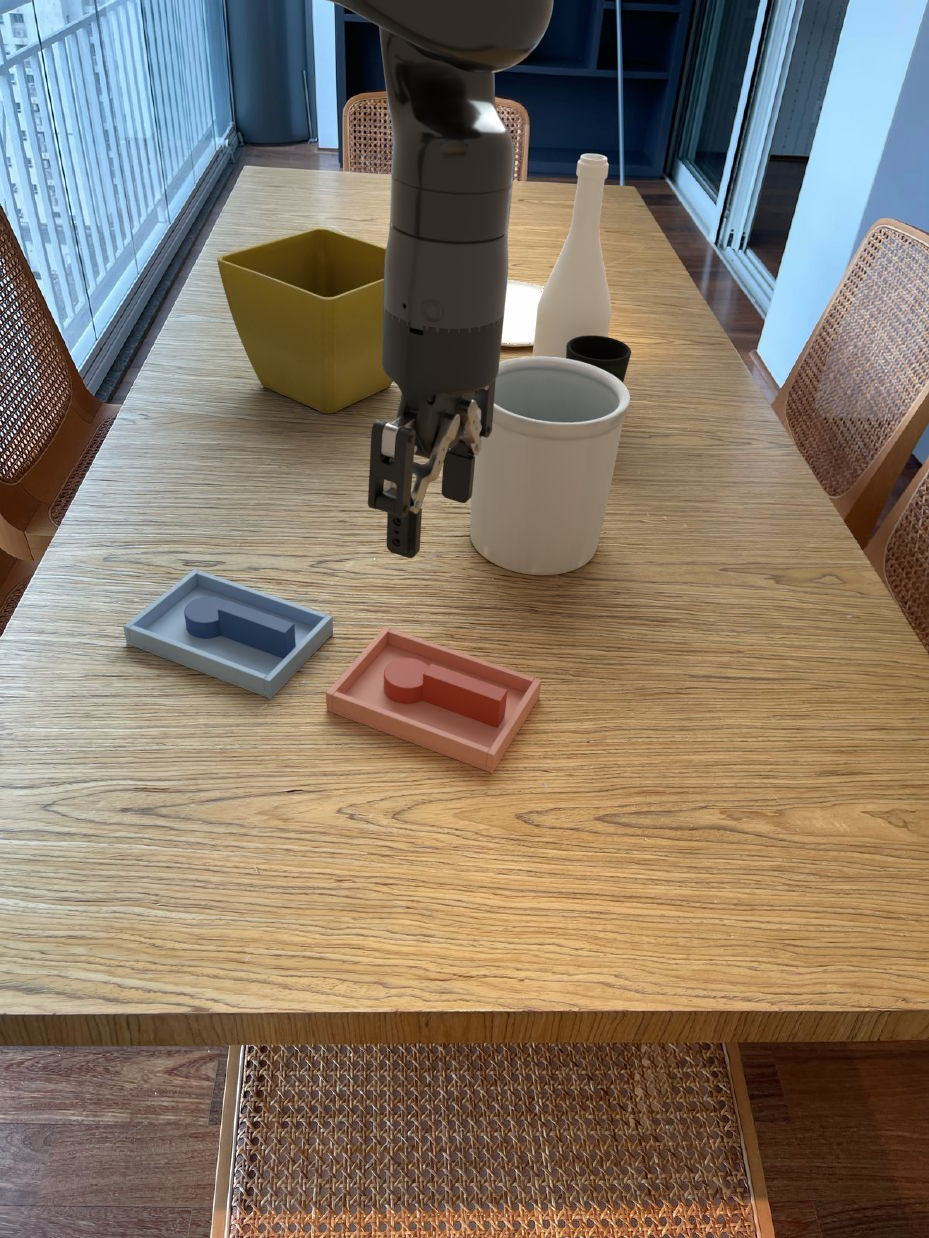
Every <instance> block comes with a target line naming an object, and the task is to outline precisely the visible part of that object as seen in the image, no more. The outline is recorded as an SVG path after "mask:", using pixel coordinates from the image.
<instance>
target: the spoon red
mask: <svg viewBox="0 0 929 1238" xmlns="http://www.w3.org/2000/svg"><path fill="white" fill-rule="evenodd" d="M507 691H508V690H506V689H503V688H500V687H498V686H495V685H492V684H489V683H486V682H483V681H480V680H478V679H475V678H472V677H469V676H466V675H463V674H460V673H458V672H455V671H452V670H449V669H446V668H443V667H440V666H437V665H435V664H431V665H430V666H429V667H428V666H427V665H426V664H425V663H424V662H422V661H420V660H418V659H414V658H400V659H397V660H394V661H392V662H390V663H389V664H388V665H387V666H386V668H385V670H384V692H385V694H386V695H387V696H388V697H389V698H390V699H391V700H393V701H395V702H398V703H403V704H412V703H417V702H420V701H424V702H427V703H430V704H433V705H435V706H438V707H441V708H444V709H446V710H449V711H452V712H455V713H457V714H460V715H463V716H466V717H468V718H471V719H474V720H477V721H479V722H482V723H485V724H488V725H490V726H493V727H496V728H497V727H498V726H499V724H500V723H501V721H502V720H503V718H504V717H505V709H506V700H507Z"/></svg>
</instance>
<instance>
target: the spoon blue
mask: <svg viewBox="0 0 929 1238" xmlns="http://www.w3.org/2000/svg"><path fill="white" fill-rule="evenodd" d="M184 616H185V623H186V629H187V631H188V632H189V633H190V634H191V635H193V636H195V637H198V638H214V637H218V636H220V635H221V636H223V637H226V638H228V639H231V640H234V641H237V642H239V643H242V644H245V645H248V646H250V647H253V648H256V649H259V650H261V651H264V652H267V653H270V654H272V655H275V656H278V657H281V658H283V659H284V658H285V657H286V656H287V655H288V654H289V653H290V652H291V651H292V650H293V649H294V648H295V647H296V642H295V624H294V623H291V622H288V621H285V620H283V619H280V618H277V617H274V616H271V615H268V614H266V613H263V612H260V611H257V610H254V609H251V608H248V607H246V606H243V605H240V604H237V603H234V602H231V601H225V600H223V599H221V598H218V597H201V598H197V599H195V600H193V601H191V602H190V603H188V604H187V606H186V607H185V609H184Z"/></svg>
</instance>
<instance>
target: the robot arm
mask: <svg viewBox="0 0 929 1238" xmlns="http://www.w3.org/2000/svg"><path fill="white" fill-rule="evenodd" d="M326 1H327V2H330V3H333V4H337V5H339V6H340V7H343V8H346V10H347V9H348V10H349V11H352V13H355V14H356V15H358V16H360V17H362V18H363V19H366V20H368V21H369V22H371V23H373V24H374V25H376V26H378V27H379V37H380V38H379V39H380V40H379V41H380V48H381V49H380V50H381V57H382V59H381V60H382V66H383V74H384V83H385V84H384V85H385V91H386V100H387V106H388V111H389V118H390V122H391V130H392V140H393V141H392V155H391V169H390V176H391V177H390V204H389V205H390V206H389V207H390V208H389V209H390V210H389V211H390V212H389V226H388V228H389V229H388V237H387V243H386V247H385V248H386V254H385V265H384V300H383V340H382V366H383V369H384V371H385V373H386V374H387V375H388V376H389V378H390V379H392V380H393V381H392V382H394V383H395V385H396V386H397V387H398V388H399V390H400V393H401V394H400V400H399V404H398V409H397V412H396V415H395V419H394V420H393V421H391V422H389V421H384V420H381V419H376V420H375V421H374V422H373V424H372V427H371V433H370V449H369V450H370V452H369V453H370V454H369V473H368V493H367V506H368V508H370V509H374V510H377V511H381V512H383V513H387V514H386V515H387V516H386V548H387V550H388V551H389V552H390V553H392V554H394V555H398V556H401V557H404V558H407V559H413V558H415V557H416V556H417V555H418V554H419V553H420V551H421V535H422V534H421V533H422V515H423V508H422V506H423V503H424V499H425V497H426V493H427V491H428V488H429V485H430V483H432V482H435V481H437V480H438V478H439V477H440V474H441V470H442V474H441V475H442V476H441V477H442V478H441V491H440V492H441V495H442V496H443V498H445V499H447V500H448V499H449V500H450V501H455V502H457V503H461V504H466V503H467V502H468V501H469V500H471V497H472V490H473V478H474V467H475V456H474V455H476V456H477V455H478V454H479V452H480V450H481V444H482V442H481V437H486V438H488V437H489V435H490V433H491V432H492V423H493V409H494V396H495V382H496V377H497V375H498V371H499V362H501V361H500V359H501V349H502V346H501V341H502V331H503V321H504V311H505V301H506V290H507V280H508V277H509V242H508V241H509V237H508V236H509V231H508V230H509V226H510V217H511V208H512V207H511V206H512V196H513V187H514V186H513V185H514V184H513V183H514V172H515V145H514V141H513V136H512V133H511V132H510V130H509V128H508V127H507V125H506V123H505V122H504V120H503V118H502V117H501V116H500V113H499V111H498V108H497V104H496V86H495V82H496V81H495V73H499V72H502V71H505V70H507V69H510V68H513V67H514V66H516V65H517V64H519V63H521V62H522V61H524V59H526V58H528V56H529V55H530V54H532V52H533V51H534V50H535V49H536V48H537V46H538V45H539V43H541V41H542V39H543V37H544V35H545V34H546V32H547V29H548V27H549V24H550V22H551V18H552V16H553V15H552V14H553V11H554V10H553V9H554V3H555V2H554V0H326ZM478 408H480V410H481V419H480V418H479V417H478V415H477V409H478ZM415 456H418V457H420V458H424V459H426V460H427V459H428V461H427V462H426V463H419V462H415V461H414V459H415ZM413 476H414V477H415V481H414V484H413ZM412 485H413V488H412Z"/></svg>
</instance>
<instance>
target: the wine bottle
mask: <svg viewBox="0 0 929 1238" xmlns="http://www.w3.org/2000/svg"><path fill="white" fill-rule="evenodd" d="M609 166H610V164H609V163H608V157H607V156H605V155H603V154H599V153H583V154H581V155H580V158H579V159H578V161H577V166H576V173H575V174H576V176H577V182H576V188H575V196H574V203H573V210H572V216H571V224H570V228H569V230H568V234H567V237H566V238H565V241H564V244H563V246H562V248H561V250H560V253H559V255H558V257H557V259H556V261H555V264H554V266H553V268H552V271H551V273H550V275H549V277H548V278H547V281H546V283H545V284H546V286H545V288H544V290H543V293H542V295H541V298H540V300H539V303H538V308H537V318H536V327H535V337H534V346H532V347H533V348H532V356H544V357H557V358H565V359H566V345H567V343H568V342H569V341H570V340H571V339H573V338H576V337H580V336H588V335H594V336H604V337H609V333H610V327H611V320H612V314H613V312H612V302H611V295H610V291H609V284H608V279H607V274H606V273H607V272H606V267H605V261H604V256H603V251H602V244H601V235H600V233H601V232H600V225H601V217H602V207H603V198H604V189H605V180H606V179H607V178H608V174H609Z"/></svg>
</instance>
